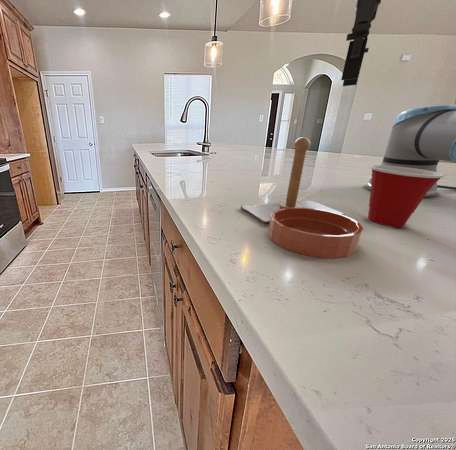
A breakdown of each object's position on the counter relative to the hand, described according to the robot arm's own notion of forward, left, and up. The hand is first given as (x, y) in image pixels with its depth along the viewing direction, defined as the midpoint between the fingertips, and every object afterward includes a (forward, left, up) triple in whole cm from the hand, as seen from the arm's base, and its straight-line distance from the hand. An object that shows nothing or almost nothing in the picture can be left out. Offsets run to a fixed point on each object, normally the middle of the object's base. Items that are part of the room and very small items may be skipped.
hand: (349, 82), depth 54 cm
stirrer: (+12, +4, -28) cm, 30 cm away
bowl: (+18, +18, -29) cm, 38 cm away
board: (+12, +4, -29) cm, 31 cm away
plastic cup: (-4, +14, -29) cm, 32 cm away
